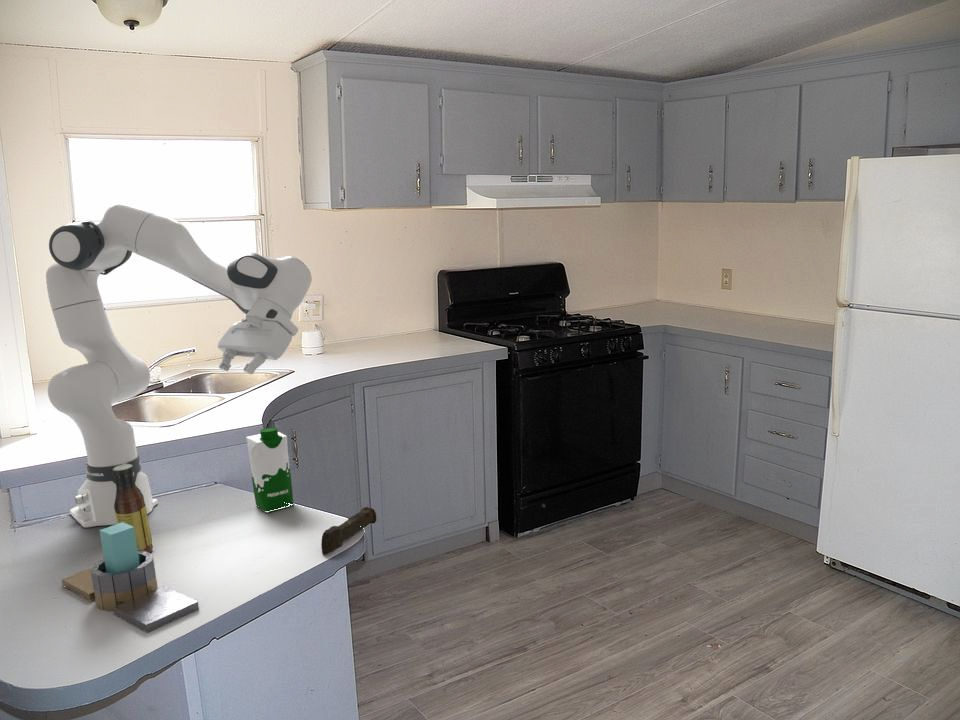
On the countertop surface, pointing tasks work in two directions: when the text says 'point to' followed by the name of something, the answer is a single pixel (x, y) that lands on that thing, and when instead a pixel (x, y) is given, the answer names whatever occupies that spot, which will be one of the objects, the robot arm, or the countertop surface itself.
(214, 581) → the countertop surface
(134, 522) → the sauce bottle
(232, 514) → the countertop surface
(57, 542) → the countertop surface
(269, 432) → the milk carton
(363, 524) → the hand tool
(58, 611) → the countertop surface
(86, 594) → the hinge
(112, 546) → the teal square block
